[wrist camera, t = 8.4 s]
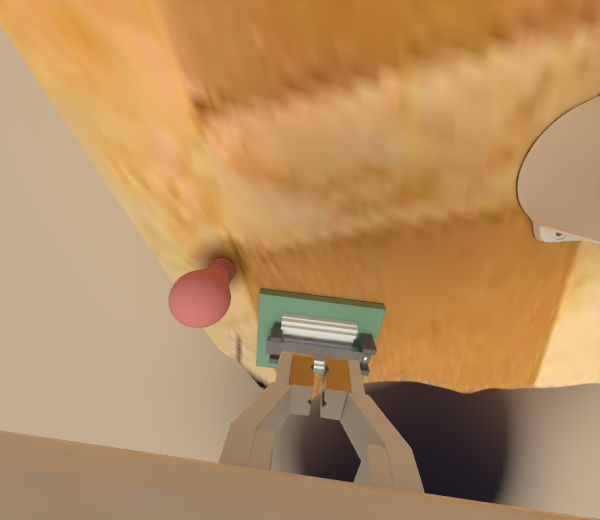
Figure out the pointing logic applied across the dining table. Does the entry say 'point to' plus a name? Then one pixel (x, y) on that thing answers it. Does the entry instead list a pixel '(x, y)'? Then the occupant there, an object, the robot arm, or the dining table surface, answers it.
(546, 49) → the dining table surface
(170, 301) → the light bulb
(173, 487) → the robot arm
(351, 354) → the steel strap
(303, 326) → the heat sink board
